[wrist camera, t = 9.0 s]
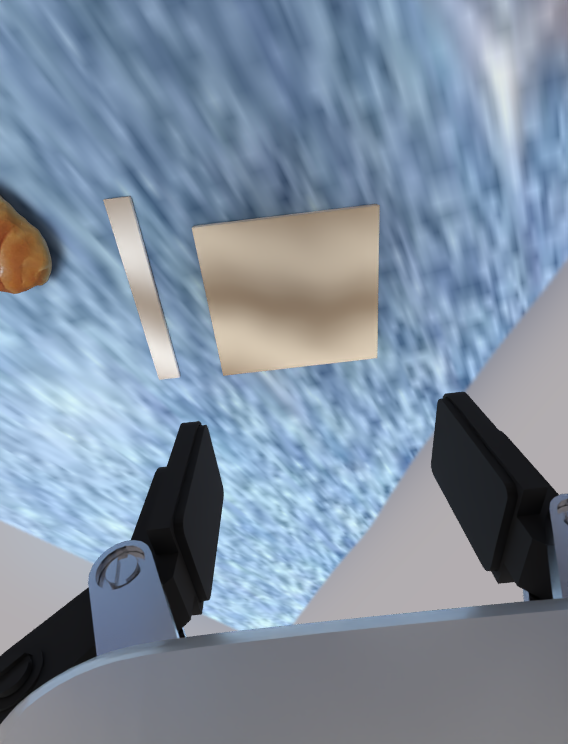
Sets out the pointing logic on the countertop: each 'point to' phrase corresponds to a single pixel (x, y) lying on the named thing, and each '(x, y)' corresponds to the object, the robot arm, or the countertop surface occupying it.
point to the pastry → (21, 252)
